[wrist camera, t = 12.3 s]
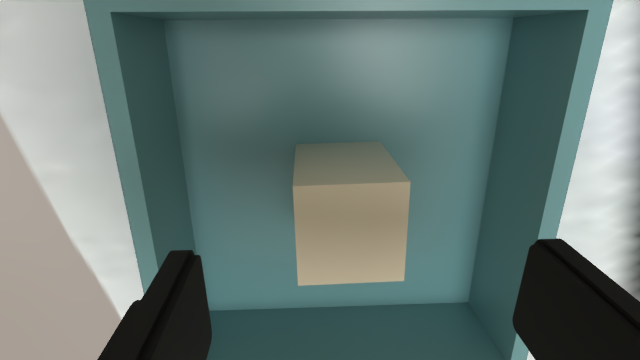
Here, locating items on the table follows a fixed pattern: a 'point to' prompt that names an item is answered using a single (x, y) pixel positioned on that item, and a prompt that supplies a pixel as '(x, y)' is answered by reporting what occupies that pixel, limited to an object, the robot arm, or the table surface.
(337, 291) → the bin
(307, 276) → the stone block
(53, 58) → the table surface
